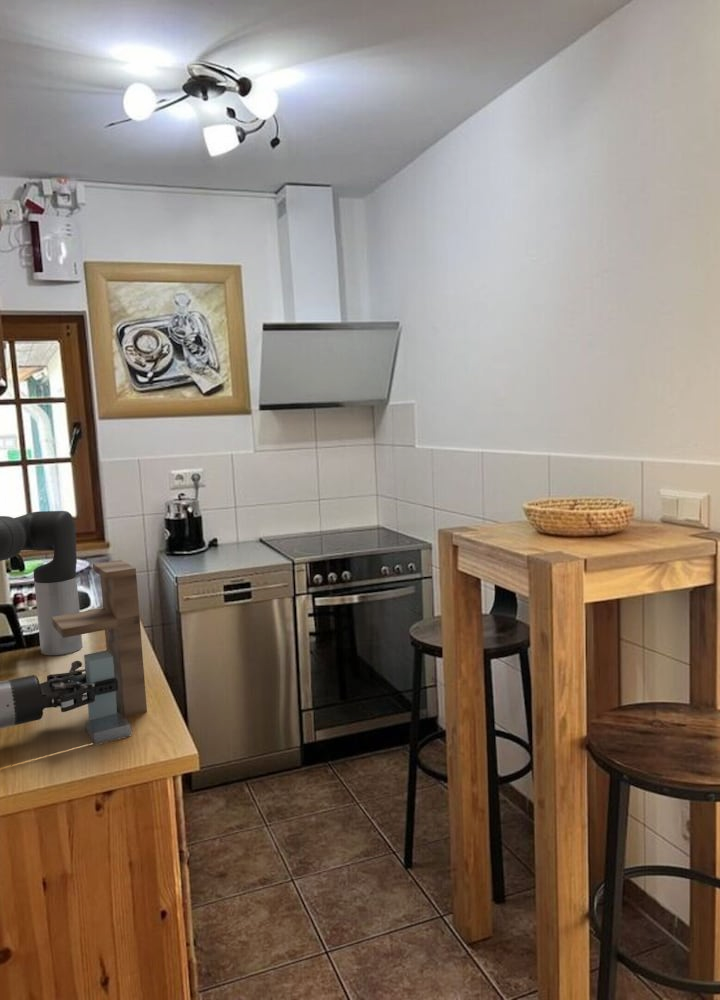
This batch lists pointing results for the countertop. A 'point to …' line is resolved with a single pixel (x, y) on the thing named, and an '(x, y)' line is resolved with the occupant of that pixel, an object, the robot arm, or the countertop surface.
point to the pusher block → (98, 670)
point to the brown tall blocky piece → (115, 631)
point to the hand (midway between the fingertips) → (113, 680)
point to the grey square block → (108, 728)
